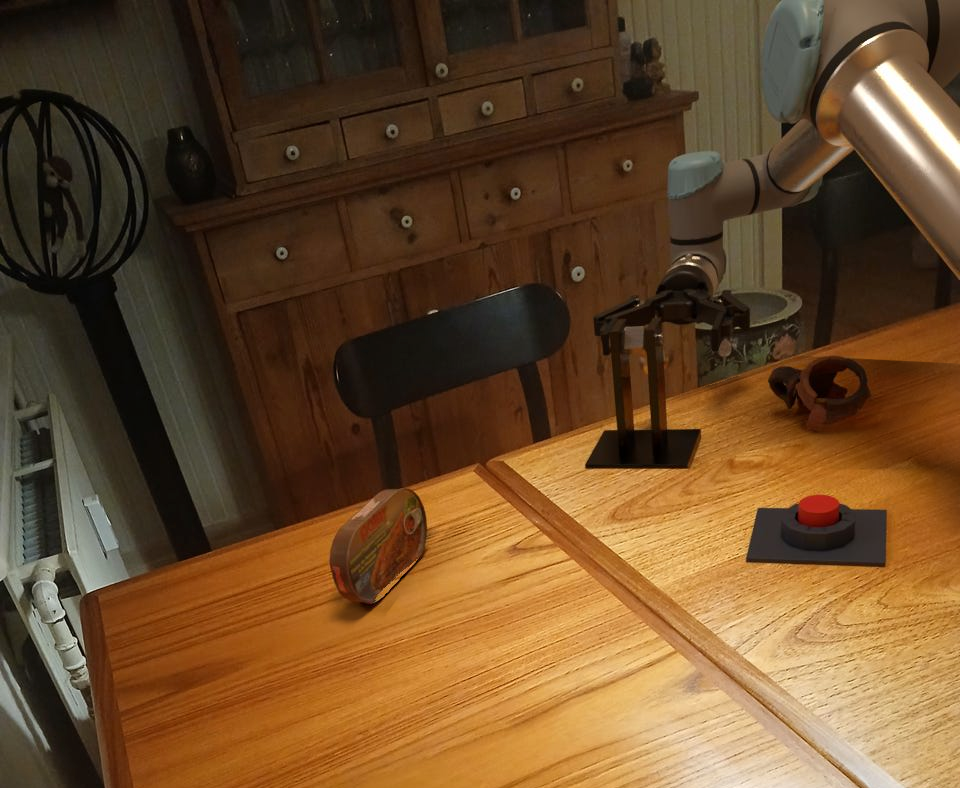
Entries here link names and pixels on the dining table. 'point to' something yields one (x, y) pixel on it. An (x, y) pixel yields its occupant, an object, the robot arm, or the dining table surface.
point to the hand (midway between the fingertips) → (658, 342)
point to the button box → (819, 538)
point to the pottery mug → (820, 389)
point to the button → (818, 511)
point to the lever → (639, 346)
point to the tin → (378, 544)
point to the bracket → (659, 442)
